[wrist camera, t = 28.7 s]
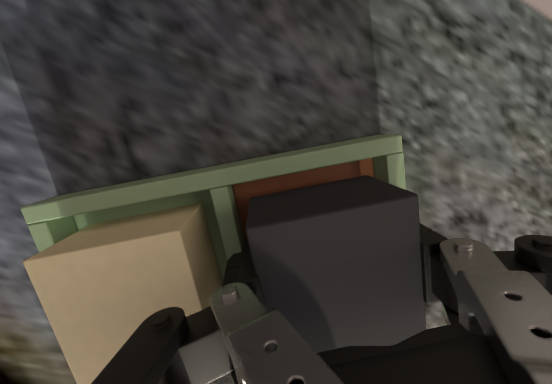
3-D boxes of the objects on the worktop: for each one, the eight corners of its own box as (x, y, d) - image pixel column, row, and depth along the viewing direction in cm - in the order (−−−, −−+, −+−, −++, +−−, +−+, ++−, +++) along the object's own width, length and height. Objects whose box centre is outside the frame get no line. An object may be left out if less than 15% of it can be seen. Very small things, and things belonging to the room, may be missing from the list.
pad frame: (57, 195, 13) (18, 207, 11) (379, 134, 14) (402, 134, 12) (112, 340, 15) (89, 374, 13) (393, 282, 16) (414, 306, 14)
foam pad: (91, 223, 13) (21, 261, 9) (202, 201, 13) (179, 229, 9) (126, 318, 14) (77, 387, 10) (227, 298, 15) (216, 358, 11)
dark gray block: (248, 197, 12) (244, 228, 8) (367, 174, 12) (419, 193, 8) (271, 302, 13) (277, 372, 9) (379, 280, 13) (427, 340, 10)
